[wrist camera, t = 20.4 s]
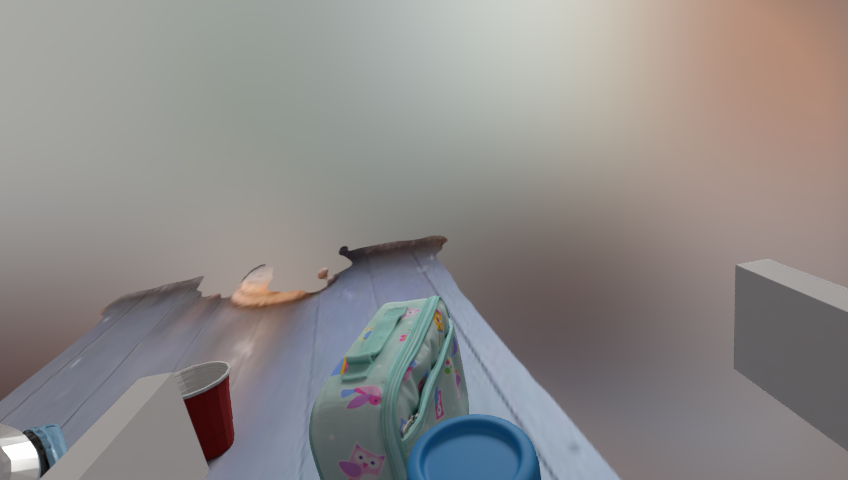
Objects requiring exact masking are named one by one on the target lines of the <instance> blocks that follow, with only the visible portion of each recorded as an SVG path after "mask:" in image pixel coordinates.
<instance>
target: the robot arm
mask: <svg viewBox="0 0 848 480" xmlns="http://www.w3.org/2000/svg"><path fill="white" fill-rule="evenodd" d="M734 369H735V370H737V371H738V372H739V373H741V374H742V375H744V376H745V377H746V378H748V379H749V380H750V381H752V382H753V383H755V384H756V385H757V386H759V387H760V388H761V389H763V390H764V391H766V392H767V393H768V394H770V395H771V396H773V397H774V398H775V399H777V400H778V401H779V402H781V403H782V404H783V405H785V406H786V407H788V408H789V409H790V410H792V411H793V412H794V413H796V414H797V415H798V416H800V417H801V418H803V419H804V420H805V421H807V422H808V423H810V424H811V425H812V426H814V427H815V428H817V429H818V430H819V431H820V432H822V433H823V434H825V435H826V436H827V437H829V438H830V439H831V440H833V441H834V442H836V443H837V444H838V445H840V446H841V447H843V448H844V449H845V450H847V451H848V288H846V287H843V286H840V285H838V284H835V283H832V282H829V281H827V280H824V279H821V278H819V277H816V276H813V275H811V274H808V273H805V272H802V271H800V270H797V269H794V268H791V267H789V266H786V265H783V264H781V263H778V262H775V261H773V260H770V259H764V260H758V261H753V262H748V263H742V264H737V265H736V268H735V329H734ZM209 471H210V470H209V467H208V465H207V462H206V459H205V457H204V454H203V451H202V449H201V446H200V443H199V441H198V438H197V435H196V433H195V430H194V427H193V425H192V422H191V419H190V416H189V414H188V411H187V408H186V406H185V403H184V400H183V398H182V395H181V392H180V390H179V387H178V384H177V382H176V379H175V376H174V374H173V372H170V373H165V374H159V375H154V376H149V377H144V378H139V379H138V380H137V381H136V382H135V383H134V384H133V385H132V386H131V387H130V388H129V389H128V390H127V391H126V392H125V393H124V394H123V395H122V396H121V397H120V398H119V399H118V400H117V401H116V402H115V403H114V404H113V405H112V406H111V407H110V408H109V409H108V411H107V412H106V413H105V414H104V415H103V416H102V417H101V418H100V419H99V420H98V421H97V422H96V423H95V424H94V425H93V426H92V427H91V428H90V429H89V430H88V431H87V432H86V433H85V434H84V435H83V436H82V437H81V438H80V439H79V440H78V441H77V442H76V443H75V444H74V445H73V446H72V447H71V448H70V449H69V450H68V449H67V446H66V442H65V439H64V436H63V433H62V431H61V429H60V427H59V426H58V425H56V424H46V425H43V426H40V427H32V428H30V429H28V430H26V431H24V432H23V433H21V432H20V431H19V430H17V429H15V428H12V427H10V426H7V425H3V424H0V480H205V478H206V476H207V475H208V473H209Z"/></svg>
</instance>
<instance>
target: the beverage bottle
mask: <svg viewBox="0 0 848 480" xmlns="http://www.w3.org/2000/svg"><path fill="white" fill-rule="evenodd" d="M406 479H407V480H541V475H540V467H539V460H538V457H537V456H536V452H535V449H534V446H533V444H532V442H531V441H530V439H529V438H528V436H527V435H526V434H525V433H524V432H523V431H522V430H521V429H520V428H518V427H517V426H516V425H514V424H512V423H511V422H509V421H507V420H504V419H501V418H498V417H495V416H490V415H480V414H473V415H463V416H458V417H454V418H451V419H448V420H445V421H443V422H441V423H439V424H437V425H435V426H434V427H432V428H431V429H429V430H428V431H427V432H425V433H424V434H423V435H422V436H421V437H420V438H419V440H418V441H417V442H416V443H415V445H414V446H413V448H412V450H411V452H410V455H409V458H408V462H407V478H406Z"/></svg>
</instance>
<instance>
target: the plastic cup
mask: <svg viewBox="0 0 848 480" xmlns="http://www.w3.org/2000/svg"><path fill="white" fill-rule="evenodd" d="M230 370H231V366H230V364H229V363H228V362H223V361H214V362H207V363H202V364H198V365H194V366H192V367H189V368H186V369H183V370H181V371H178V372H176V373H174V376H175V379H176V382H177V384H178V387H179V390H180V392H181V395H182V398H183V400H184V403H185V406H186V408H187V411H188V414H189V416H190V419H191V422H192V425H193V427H194V430H195V433H196V435H197V438H198V441H199V443H200V446H201V449H202V451H203V454H204V457H205V459H206V461H207V460H210V459H213V458H216V457H217V456H219V455H221V454H223V453H224V452H225V451H227V450H228V449H229V448H230V446H231V445H232V444H233V441H234V429H233V422H232V419H233V416H232V408H231V400H230V392H229V373H230Z"/></svg>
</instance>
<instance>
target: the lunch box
mask: <svg viewBox="0 0 848 480" xmlns="http://www.w3.org/2000/svg"><path fill="white" fill-rule="evenodd" d="M463 415H469V401H468V393H467V387H466V381H465V376H464V371H463V365H462V360H461V354H460V349H459V344H458V340H457V336H456V333H455V328H454V324H453V322H452V321H451V319H450V316H449V313H448V310H447V307H446V305H445V303H444V301H443V300H442V298H441V297H440V296H431V297H430V298H429V299H428V298H425V299H419V300H411V301H404V302H391V303H386V304H384V305H383V306H382V307H381V308H380V309H379V310H378V312H377V313H376V314H375V315H374V317H373V318H372V319H371V321H370V322H369V323H368V325H367V326H366V327H365V329H364V330H363V331H362V333H361V334H360V335H359V337H358V338H357V339H356V341H355V342H354V343H353V345H352V346H351V347H350V348H349V350H348V351H347V353H346V354H345V355H344V357H343V358H342V360H341V361H340V363H339V364H338V365H337V367H336V368H335V370H334V371H333V372H332V374H331V375H330V377H329V378H328V380H327V381H326V383H325V385H324V386H323V388H322V390H321V392H320V393H319V395H318V397H317V399H316V401H315V403H314V406H313V409H312V413H311V417H310V424H309V440H310V446H311V450H312V454H313V457H314V461H315V464H316V467H317V470H318V473H319V476H320V479H321V480H407V479H406V478H407V462H408V458H409V455H410V452H411V450H412V448H413V446H414V445H415V443H416V442H417V441H418V440H419V438H420V437H421V436H422V435H423V434H424V433H425V432H427V431H428V430H429V429H431V428H432V427H434V426H435V425H437V424H439V423H441V422H443V421H445V420H448V419H451V418H454V417H458V416H463Z"/></svg>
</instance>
